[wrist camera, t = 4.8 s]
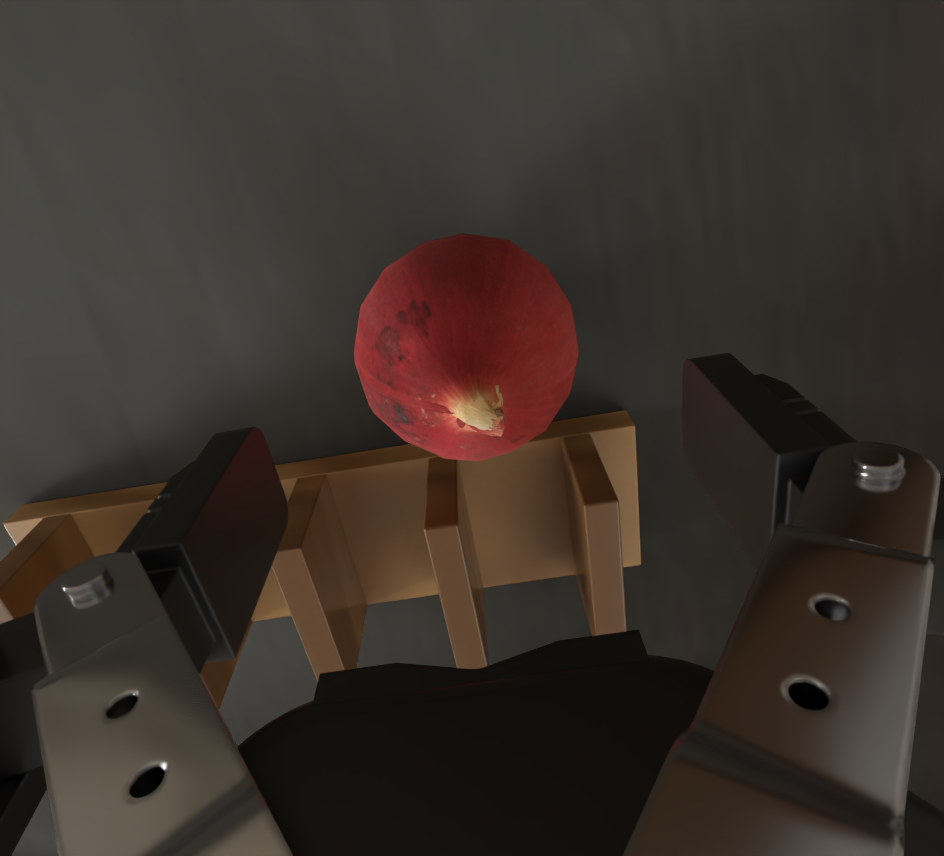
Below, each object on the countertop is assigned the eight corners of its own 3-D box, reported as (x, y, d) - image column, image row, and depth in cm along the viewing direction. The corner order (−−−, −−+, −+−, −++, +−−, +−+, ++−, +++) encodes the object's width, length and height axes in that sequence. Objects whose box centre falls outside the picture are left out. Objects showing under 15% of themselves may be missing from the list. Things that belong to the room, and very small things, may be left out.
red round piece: (401, 408, 21) (377, 559, 14) (346, 241, 19) (283, 324, 12) (568, 369, 21) (629, 505, 14) (535, 192, 18) (590, 247, 11)
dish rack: (95, 624, 25) (15, 739, 21) (22, 503, 23) (-87, 606, 18) (633, 545, 24) (676, 648, 20) (626, 409, 22) (674, 491, 17)
